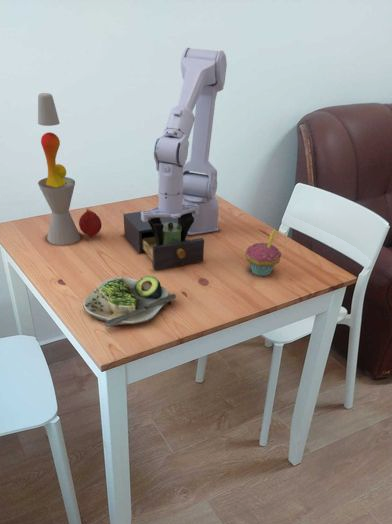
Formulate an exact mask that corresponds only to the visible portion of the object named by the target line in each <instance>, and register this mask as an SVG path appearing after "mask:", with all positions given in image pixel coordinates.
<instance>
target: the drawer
mask: <svg viewBox="0 0 392 524" xmlns="http://www.w3.org/2000/svg"><path fill="white" fill-rule="evenodd" d="M142 249H143V250H144V251H145V253H146V255H147V256H148V257H149V258H150V259H151V260H152V269H153V270H154V271H157V270H163V269H168V268H173V267H178V266H185V265H189V264H194V263H198V262H199V263H200V262H203V261H204V251H205V238H203V237H199V238H194V239H188V238H187V237H186V239H185V241H181V242H175V243H169V244H163V245H158V246H157V245H156V240H155V236H151V237H145V238H142Z"/></svg>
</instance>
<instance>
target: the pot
mask: <svg viewBox="0 0 392 524" xmlns="http://www.w3.org/2000/svg"><path fill="white" fill-rule="evenodd" d="M163 225H164V227H163V232H162V245H163V244H169V243H175V242H181V231H182V226H181V225H180V224H177V223H171V222H170V223H163Z"/></svg>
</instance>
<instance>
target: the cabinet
mask: <svg viewBox="0 0 392 524" xmlns="http://www.w3.org/2000/svg"><path fill="white" fill-rule="evenodd" d="M141 212H142V211H135V212H128V213H123V214H122V215H123V232H124V237H125V238H126V239H127V240H128V242H129V243H130V244H131V245H132V246H133V248H134V249H135V250H136V251H137V252H138V254H145V253H146V252H145V251H144V250H143V249H142V238H145V237H151V236H154V233H153V231H152V228H151V226H150V224H149V222H143V221H142V220H141ZM160 220H161V223H162V224H163V223H170V222H171V223H177V224H178V218H172V217H169V218H162V219H160Z"/></svg>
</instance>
